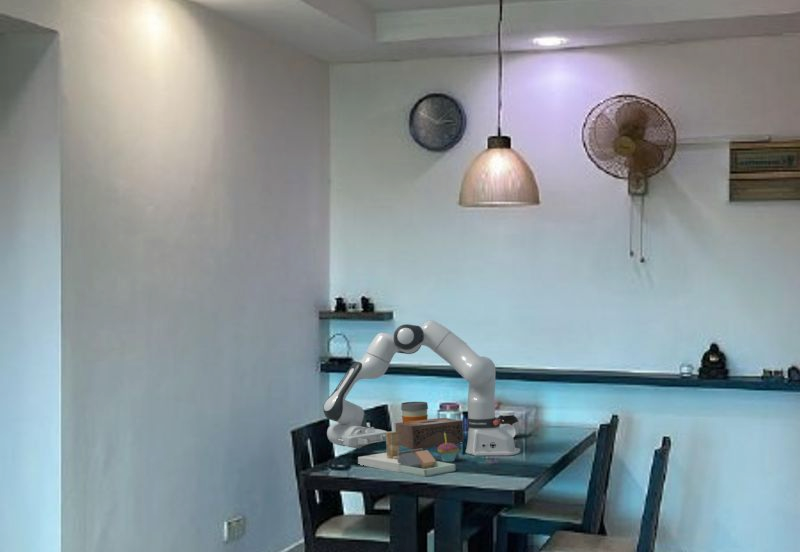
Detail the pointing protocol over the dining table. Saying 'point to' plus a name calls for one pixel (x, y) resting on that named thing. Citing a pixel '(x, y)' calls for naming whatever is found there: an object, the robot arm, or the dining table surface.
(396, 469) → the slab
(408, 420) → the reusable coffee cup
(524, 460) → the dining table surface
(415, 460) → the charcoal tile
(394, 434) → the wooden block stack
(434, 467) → the tray
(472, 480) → the dining table surface
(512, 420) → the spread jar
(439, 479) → the dining table surface
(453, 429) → the tissue box cover
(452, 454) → the cupcake
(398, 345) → the robot arm
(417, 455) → the terracotta tile
